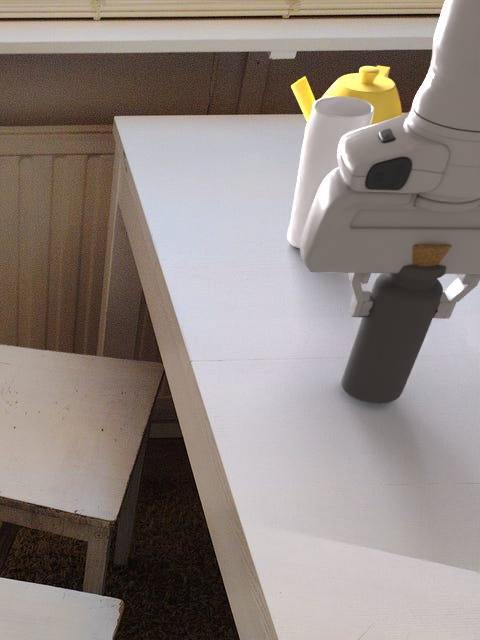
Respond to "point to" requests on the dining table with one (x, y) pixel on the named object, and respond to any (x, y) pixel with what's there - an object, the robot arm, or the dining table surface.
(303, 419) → the dining table surface
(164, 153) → the dining table surface
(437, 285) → the bottle
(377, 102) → the teapot
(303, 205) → the white vase
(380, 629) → the dining table surface
